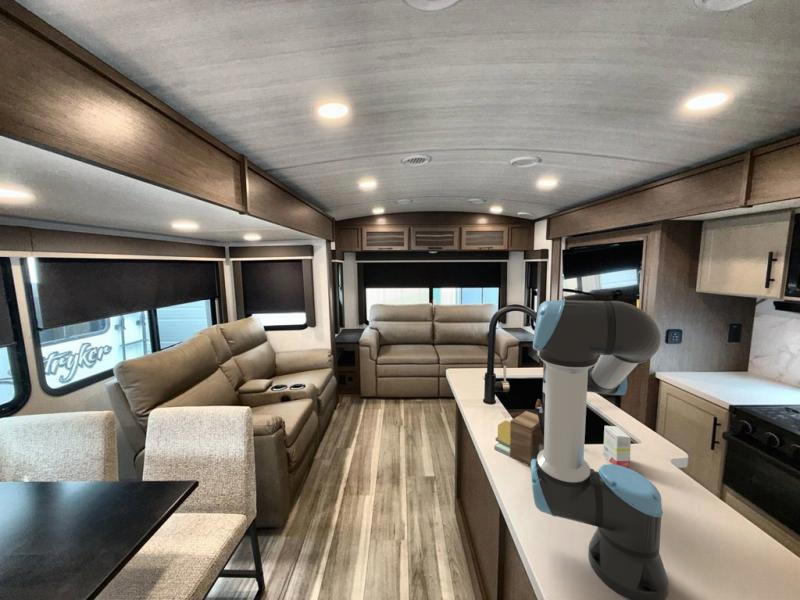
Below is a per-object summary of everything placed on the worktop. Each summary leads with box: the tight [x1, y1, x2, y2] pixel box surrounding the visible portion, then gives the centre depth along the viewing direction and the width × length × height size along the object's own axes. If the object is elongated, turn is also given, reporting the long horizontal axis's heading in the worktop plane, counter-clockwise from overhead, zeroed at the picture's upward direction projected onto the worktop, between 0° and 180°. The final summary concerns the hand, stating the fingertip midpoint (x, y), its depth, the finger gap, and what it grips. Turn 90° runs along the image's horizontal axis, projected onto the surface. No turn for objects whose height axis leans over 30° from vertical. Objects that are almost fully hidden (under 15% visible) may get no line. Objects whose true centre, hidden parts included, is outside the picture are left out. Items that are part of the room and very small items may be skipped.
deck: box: [493, 442, 536, 467], centre depth 120 cm, size 12×22×2 cm, turn 41°
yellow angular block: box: [495, 420, 544, 459], centre depth 121 cm, size 6×20×7 cm, turn 41°
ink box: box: [602, 425, 632, 469], centre depth 114 cm, size 9×5×12 cm, turn 175°
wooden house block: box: [509, 410, 544, 467], centre depth 119 cm, size 12×8×14 cm, turn 131°
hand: (553, 456), depth 113 cm, fingers closed
